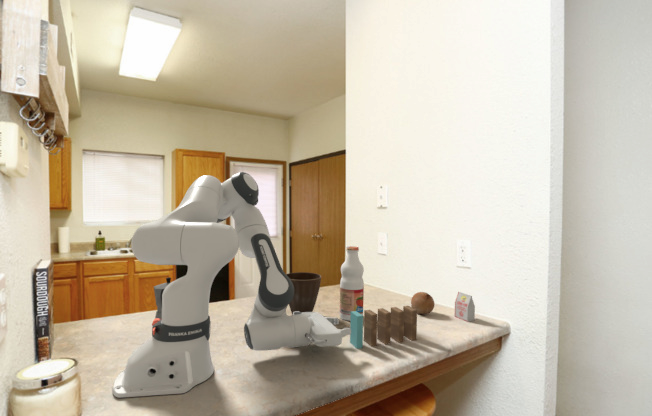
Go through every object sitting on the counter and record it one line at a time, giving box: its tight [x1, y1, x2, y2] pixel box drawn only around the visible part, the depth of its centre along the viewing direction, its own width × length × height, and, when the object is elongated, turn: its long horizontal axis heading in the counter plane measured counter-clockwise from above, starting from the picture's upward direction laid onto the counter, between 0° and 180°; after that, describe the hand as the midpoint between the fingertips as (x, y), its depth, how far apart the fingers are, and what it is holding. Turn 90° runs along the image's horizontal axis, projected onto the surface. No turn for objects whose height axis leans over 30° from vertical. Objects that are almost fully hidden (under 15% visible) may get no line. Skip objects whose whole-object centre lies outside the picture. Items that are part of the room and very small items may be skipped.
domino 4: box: [402, 305, 418, 342], centre depth 113 cm, size 2×5×10 cm, turn 21°
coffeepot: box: [153, 276, 172, 320], centre depth 115 cm, size 15×9×18 cm, turn 14°
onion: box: [410, 291, 435, 315], centre depth 140 cm, size 10×9×10 cm
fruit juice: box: [339, 246, 365, 322], centre depth 133 cm, size 9×9×28 cm
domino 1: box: [363, 309, 378, 348], centre depth 107 cm, size 2×5×10 cm, turn 21°
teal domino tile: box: [349, 311, 364, 349], centre depth 106 cm, size 2×5×10 cm, turn 20°
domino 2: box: [377, 308, 392, 345], centre depth 109 cm, size 2×5×10 cm, turn 21°
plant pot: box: [285, 271, 322, 315], centre depth 134 cm, size 15×15×16 cm
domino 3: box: [390, 306, 405, 343], centre depth 111 cm, size 2×5×10 cm, turn 21°
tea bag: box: [454, 291, 476, 323], centre depth 134 cm, size 4×7×10 cm, turn 22°
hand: (343, 325), depth 104 cm, fingers open, 8 cm apart
